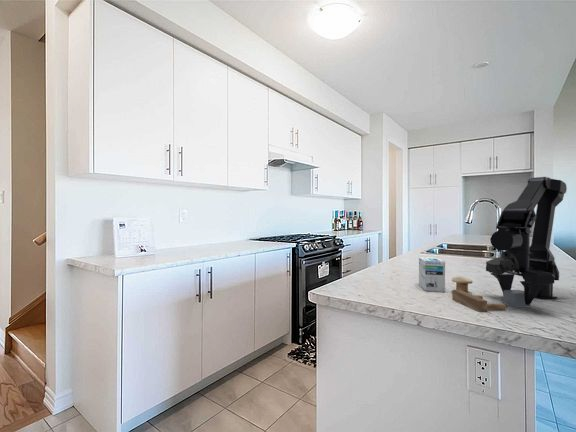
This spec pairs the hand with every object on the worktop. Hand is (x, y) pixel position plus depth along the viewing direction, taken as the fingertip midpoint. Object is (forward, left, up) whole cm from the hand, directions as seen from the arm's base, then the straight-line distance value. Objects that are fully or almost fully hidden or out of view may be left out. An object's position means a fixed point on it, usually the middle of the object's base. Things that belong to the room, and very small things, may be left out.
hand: (516, 300), depth 91 cm
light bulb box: (+15, -21, -1) cm, 25 cm away
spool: (+9, -12, -1) cm, 15 cm away
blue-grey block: (0, 0, -1) cm, 1 cm away
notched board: (+12, 0, -1) cm, 12 cm away
